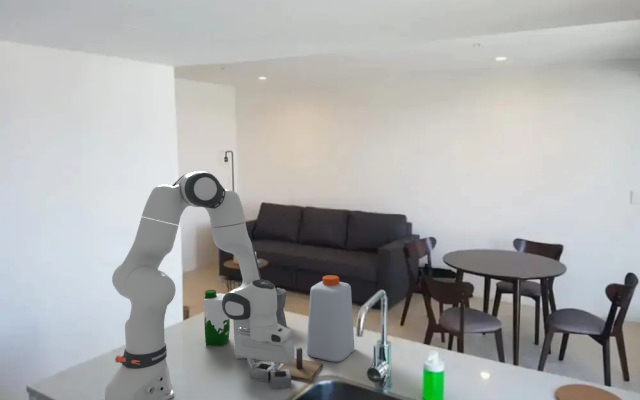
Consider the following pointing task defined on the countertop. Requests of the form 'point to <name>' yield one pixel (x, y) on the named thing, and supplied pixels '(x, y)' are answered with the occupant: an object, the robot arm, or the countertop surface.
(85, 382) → the countertop surface
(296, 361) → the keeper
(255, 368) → the grey hollow square block
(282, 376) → the link
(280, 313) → the coffeepot
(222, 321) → the milk carton
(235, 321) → the skincare box
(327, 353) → the plastic bottle
